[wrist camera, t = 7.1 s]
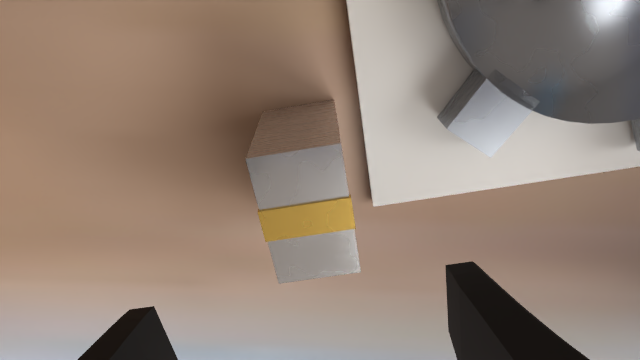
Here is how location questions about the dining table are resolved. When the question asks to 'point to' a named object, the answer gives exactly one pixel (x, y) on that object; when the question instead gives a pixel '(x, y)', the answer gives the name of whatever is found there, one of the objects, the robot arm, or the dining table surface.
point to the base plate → (430, 99)
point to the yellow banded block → (303, 192)
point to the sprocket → (542, 65)
